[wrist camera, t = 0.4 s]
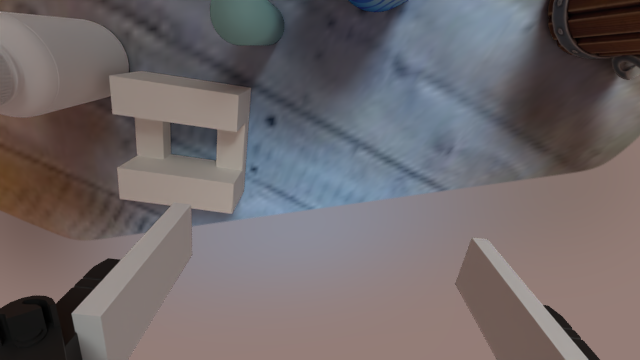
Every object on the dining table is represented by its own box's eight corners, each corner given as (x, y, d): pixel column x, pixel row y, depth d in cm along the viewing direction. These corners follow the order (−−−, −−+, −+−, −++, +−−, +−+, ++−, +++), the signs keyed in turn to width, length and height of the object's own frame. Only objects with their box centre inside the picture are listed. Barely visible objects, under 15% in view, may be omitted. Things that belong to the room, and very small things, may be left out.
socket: (141, 70, 36) (109, 75, 31) (251, 87, 37) (238, 95, 31) (147, 178, 41) (119, 198, 35) (244, 191, 42) (232, 213, 36)
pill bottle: (84, 107, 38) (-53, 144, 24) (41, 35, 35) (-145, 28, 21) (145, 84, 37) (39, 108, 23) (106, 8, 34) (-44, -18, 20)
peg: (247, -1, 34) (210, -23, 22) (286, 6, 34) (269, -13, 23) (244, 41, 35) (209, 40, 24) (282, 48, 35) (264, 49, 24)
